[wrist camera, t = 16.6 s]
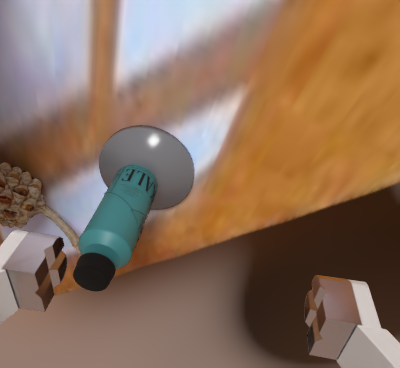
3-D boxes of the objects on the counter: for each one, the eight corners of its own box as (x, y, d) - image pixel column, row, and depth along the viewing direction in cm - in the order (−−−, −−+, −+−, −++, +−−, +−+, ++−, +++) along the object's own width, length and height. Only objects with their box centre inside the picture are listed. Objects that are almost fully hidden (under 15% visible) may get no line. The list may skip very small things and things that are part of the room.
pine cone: (-35, 170, 60) (-79, 209, 52) (-18, 129, 55) (-65, 165, 47) (86, 238, 66) (62, 282, 58) (111, 206, 61) (89, 250, 53)
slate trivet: (104, 198, 60) (102, 202, 59) (98, 119, 52) (95, 123, 51) (191, 210, 59) (189, 215, 58) (198, 132, 51) (196, 136, 50)
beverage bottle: (120, 191, 57) (65, 298, 41) (115, 154, 53) (53, 255, 37) (162, 195, 57) (123, 305, 40) (160, 158, 53) (117, 263, 36)
